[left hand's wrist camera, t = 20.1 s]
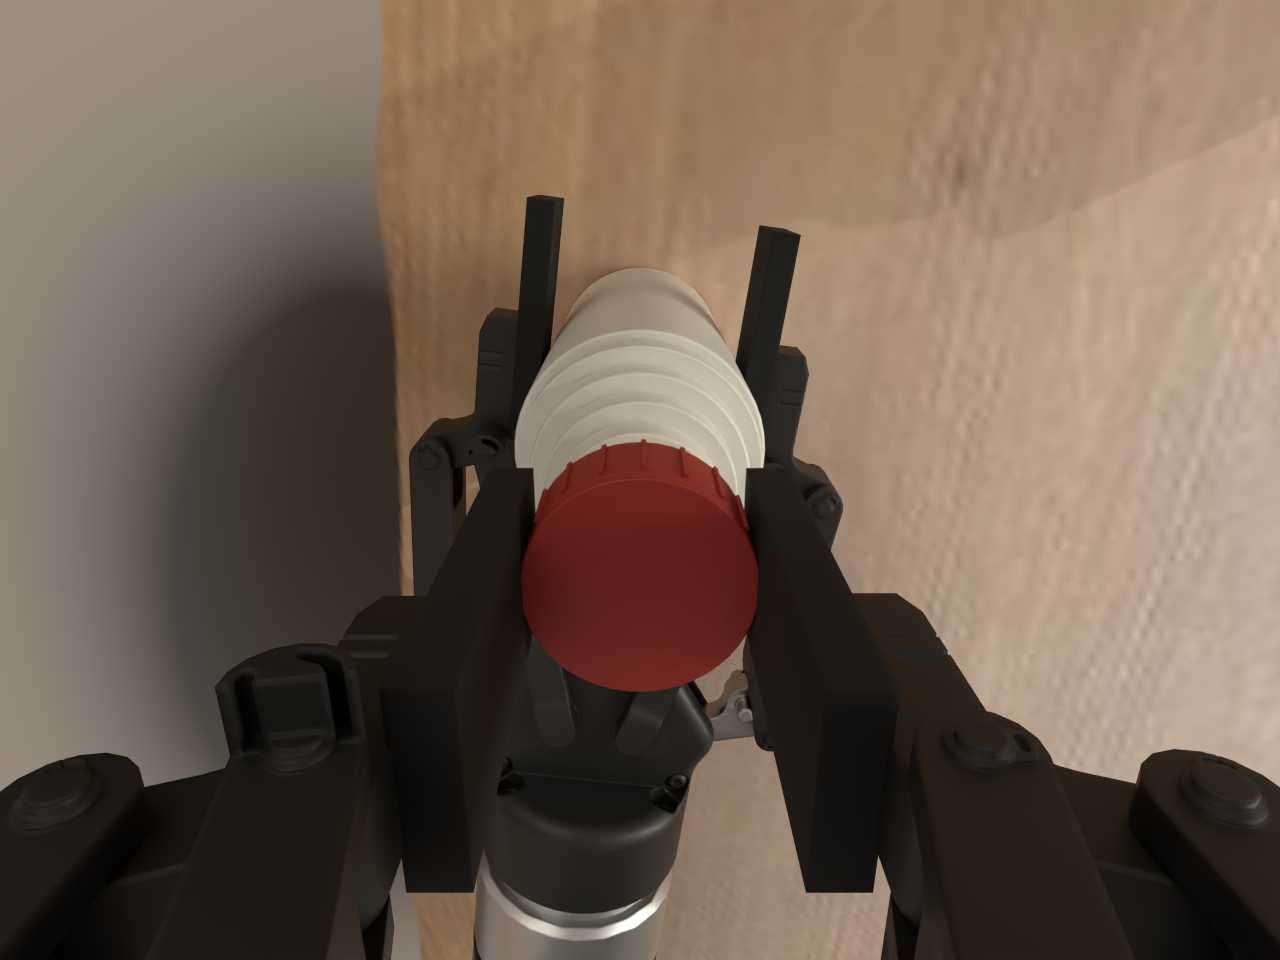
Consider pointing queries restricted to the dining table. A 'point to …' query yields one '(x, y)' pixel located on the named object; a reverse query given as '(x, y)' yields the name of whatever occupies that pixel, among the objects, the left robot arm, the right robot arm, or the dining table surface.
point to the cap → (639, 568)
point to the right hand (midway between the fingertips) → (663, 215)
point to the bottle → (639, 382)
